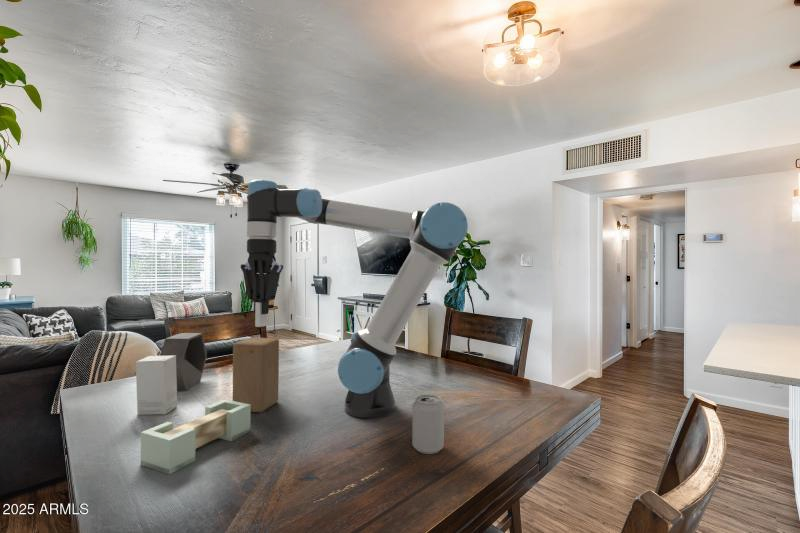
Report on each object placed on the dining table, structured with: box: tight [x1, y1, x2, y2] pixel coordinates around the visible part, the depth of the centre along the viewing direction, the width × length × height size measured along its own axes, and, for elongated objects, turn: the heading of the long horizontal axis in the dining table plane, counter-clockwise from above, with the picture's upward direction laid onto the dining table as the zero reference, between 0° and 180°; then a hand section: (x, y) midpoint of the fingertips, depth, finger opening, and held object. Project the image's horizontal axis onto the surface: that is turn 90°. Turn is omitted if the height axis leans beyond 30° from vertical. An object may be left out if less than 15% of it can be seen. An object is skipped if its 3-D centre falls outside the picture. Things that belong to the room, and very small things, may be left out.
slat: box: [163, 409, 229, 450], centre depth 90 cm, size 16×4×5 cm, turn 157°
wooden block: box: [232, 337, 280, 413], centre depth 116 cm, size 10×10×20 cm
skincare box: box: [135, 355, 178, 416], centre depth 111 cm, size 8×7×16 cm
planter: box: [159, 332, 208, 392], centre depth 134 cm, size 17×8×21 cm
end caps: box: [140, 399, 252, 475], centre depth 90 cm, size 22×9×7 cm, turn 157°
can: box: [411, 393, 445, 455], centre depth 91 cm, size 8×8×12 cm
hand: (260, 326), depth 103 cm, fingers closed
